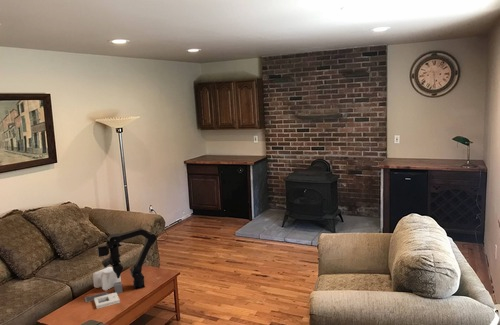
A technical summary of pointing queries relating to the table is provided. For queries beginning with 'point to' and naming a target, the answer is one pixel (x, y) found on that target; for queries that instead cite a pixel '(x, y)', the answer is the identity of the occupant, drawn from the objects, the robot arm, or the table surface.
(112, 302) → the outlet plate
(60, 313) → the table surface
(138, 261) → the robot arm
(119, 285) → the charger
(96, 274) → the cable organizer
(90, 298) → the phone
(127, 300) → the table surface
